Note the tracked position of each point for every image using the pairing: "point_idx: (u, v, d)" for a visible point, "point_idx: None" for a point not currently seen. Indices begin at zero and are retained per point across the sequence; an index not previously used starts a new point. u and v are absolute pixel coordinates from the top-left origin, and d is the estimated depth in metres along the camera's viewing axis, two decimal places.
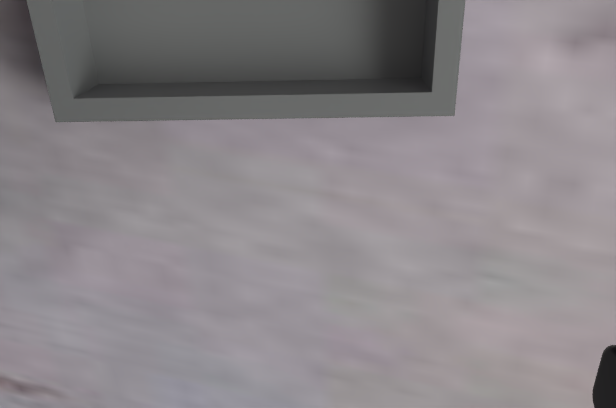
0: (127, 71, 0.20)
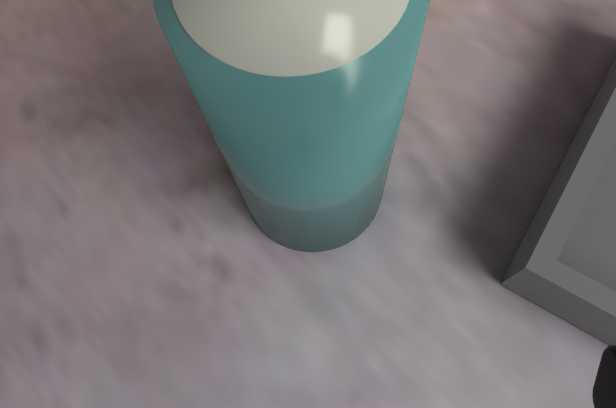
0: None
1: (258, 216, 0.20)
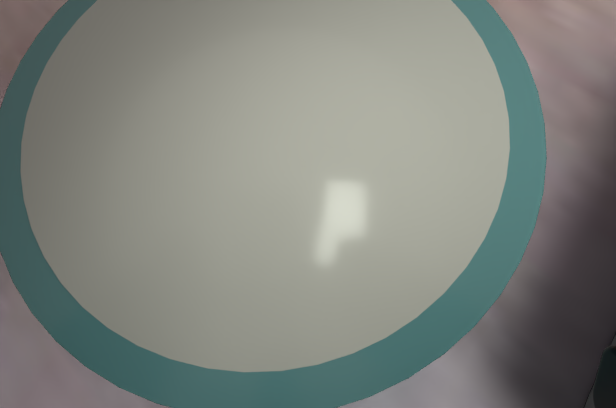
0: None
1: None
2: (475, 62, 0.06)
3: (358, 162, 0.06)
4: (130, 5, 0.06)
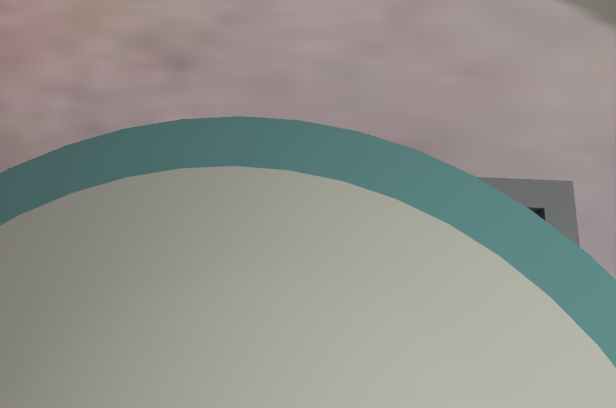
0: None
1: None
2: None
3: None
4: None
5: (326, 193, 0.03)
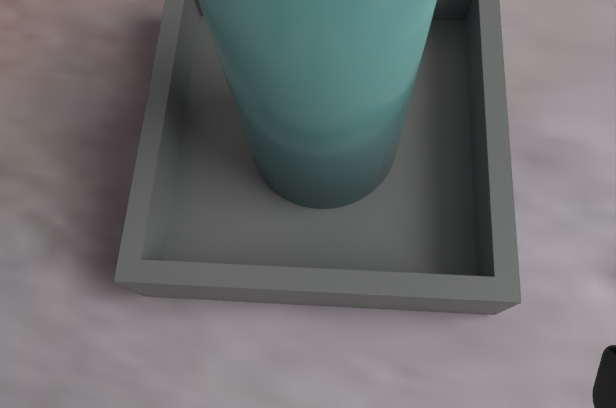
0: None
1: (267, 166, 0.19)
2: None
3: None
4: None
5: None
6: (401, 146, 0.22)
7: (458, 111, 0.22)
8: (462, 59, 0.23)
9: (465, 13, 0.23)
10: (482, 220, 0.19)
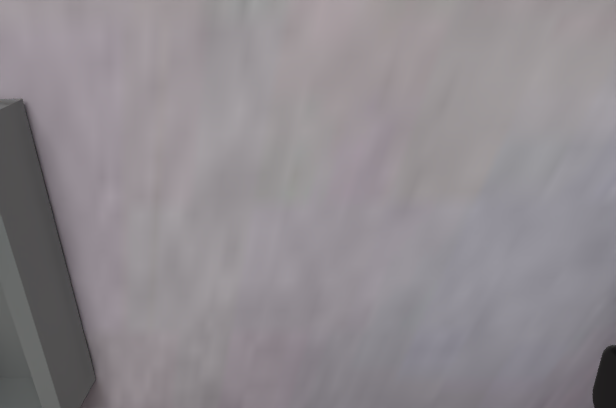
0: None
1: None
2: None
3: None
4: None
5: None
6: None
7: None
8: None
9: None
10: None
